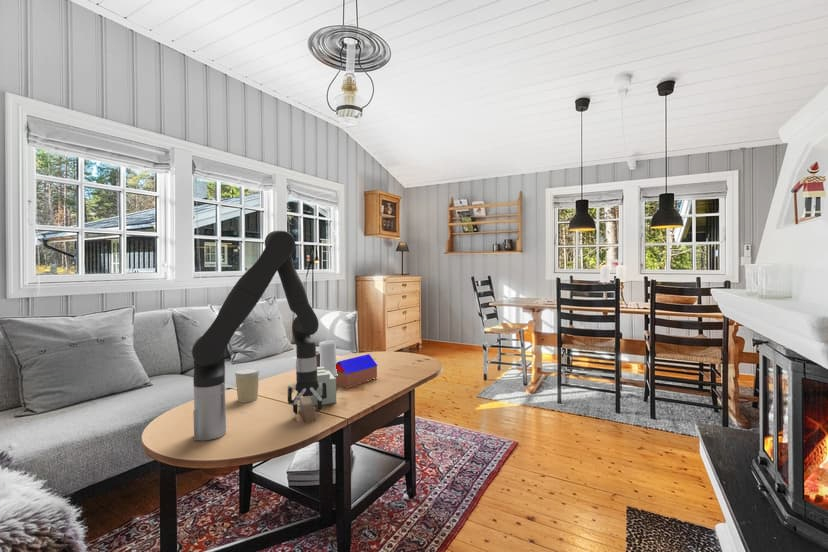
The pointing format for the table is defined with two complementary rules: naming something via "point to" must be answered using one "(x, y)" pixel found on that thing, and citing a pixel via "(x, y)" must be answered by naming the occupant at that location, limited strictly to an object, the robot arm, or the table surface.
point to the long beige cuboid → (307, 409)
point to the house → (355, 370)
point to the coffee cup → (247, 384)
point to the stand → (330, 386)
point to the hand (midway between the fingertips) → (307, 411)
